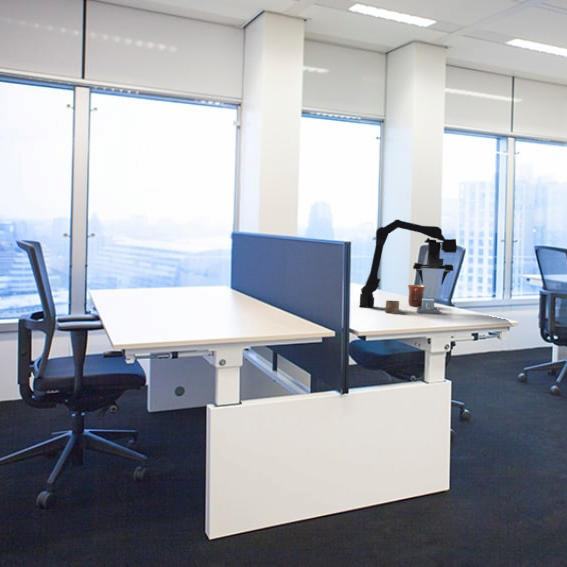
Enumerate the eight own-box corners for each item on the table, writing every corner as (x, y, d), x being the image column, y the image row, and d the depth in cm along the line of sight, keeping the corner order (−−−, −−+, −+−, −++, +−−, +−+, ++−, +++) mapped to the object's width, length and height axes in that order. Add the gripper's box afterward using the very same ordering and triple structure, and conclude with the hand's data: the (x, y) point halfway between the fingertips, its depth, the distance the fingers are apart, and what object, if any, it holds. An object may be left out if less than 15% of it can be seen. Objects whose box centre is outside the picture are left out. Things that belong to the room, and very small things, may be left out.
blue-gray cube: (421, 311, 281) (422, 299, 280) (421, 309, 286) (422, 298, 286) (433, 312, 280) (434, 300, 279) (433, 310, 285) (434, 299, 284)
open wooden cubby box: (385, 312, 277) (385, 302, 276) (385, 310, 283) (386, 300, 282) (398, 313, 275) (399, 302, 275) (398, 311, 281) (399, 301, 281)
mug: (406, 304, 307) (407, 284, 306) (424, 305, 305) (425, 285, 304) (406, 307, 295) (407, 287, 294) (424, 308, 293) (426, 288, 292)
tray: (417, 312, 279) (417, 309, 279) (416, 309, 289) (417, 306, 289) (438, 314, 277) (439, 311, 277) (437, 311, 287) (438, 307, 287)
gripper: (414, 252, 281) (412, 285, 283) (455, 254, 277) (452, 287, 279) (414, 251, 292) (412, 282, 293) (453, 252, 288) (451, 284, 290)
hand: (431, 284), depth 288 cm, fingers open, 9 cm apart
